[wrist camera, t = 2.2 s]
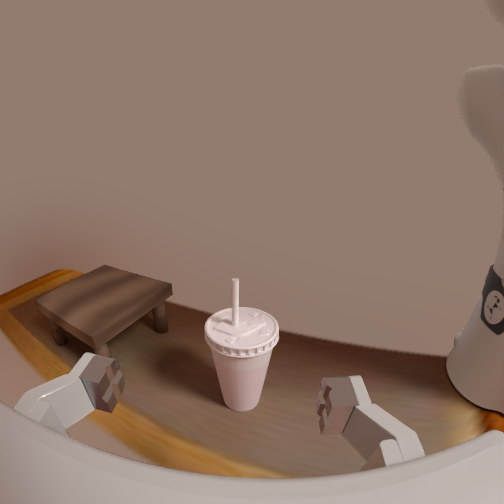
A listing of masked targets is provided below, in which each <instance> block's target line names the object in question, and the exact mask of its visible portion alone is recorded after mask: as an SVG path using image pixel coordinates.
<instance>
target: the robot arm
mask: <svg viewBox="0 0 504 504" xmlns="http://www.w3.org/2000/svg"><path fill="white" fill-rule="evenodd" d="M484 3H485V5H486V7H487V9H488V11H489V12H490V14H491V15H492V16H493V17H494V18H495V20H496V21H497V22H499V23H500V24H501V25H502V26H503V27H504V0H484ZM457 101H458V107H459V112H460V115H461V118H462V120H463V122H464V124H465V126H466V128H467V130H468V131H469V133H470V134H471V135H472V137H473V138H474V139H475V140H476V141H477V142H478V143H479V144H480V145H481V146H482V148H483V149H484V150H485V151H486V153H487V155H488V156H489V158H490V159H491V161H492V163H493V165H494V167H495V170H496V172H497V175H498V177H499V181H500V185H501V190H502V198H503V216H502V226H501V233H500V239H499V244H498V250H497V254H496V258H495V262H494V264H493V265H492V266H491V267H490V269H489V272H488V274H487V276H486V279H485V285H484V288H483V291H482V295H483V296H482V297H480V298H479V299H478V300H477V302H476V304H475V307H474V309H473V311H472V313H471V315H470V317H469V319H468V321H467V323H466V325H465V327H464V329H463V331H462V333H458V334H457V335H456V337H455V339H454V348H453V350H452V351H451V352H450V354H449V355H448V358H447V362H446V367H447V372H448V375H449V377H450V380H451V381H452V383H453V385H454V386H455V387H456V389H457V390H458V391H459V392H460V393H461V394H462V395H463V396H464V397H465V398H467V399H468V400H469V401H471V402H473V403H474V404H476V405H478V406H480V407H483V408H486V409H490V410H495V411H499V412H501V413H503V414H504V65H498V64H496V65H486V66H479V67H473V68H468V69H466V71H465V72H464V74H463V75H462V77H461V79H460V82H459V85H458V91H457ZM119 368H120V364H119V361H118V360H116V359H113V358H109V357H105V356H101V355H96V354H92V353H89V352H87V353H84V355H83V356H82V357H81V358H80V360H79V361H78V362H77V364H76V365H75V366H74V368H73V369H72V370H71V372H70V373H69V374H68V375H67V374H64V375H62V376H60V377H58V378H55V379H53V380H51V381H49V382H46V383H44V384H42V385H40V386H37V387H35V388H33V389H30V390H28V391H26V392H25V393H24V395H23V396H22V397H21V398H20V400H19V401H18V402H17V404H16V405H15V406H14V408H13V409H12V408H11V407H9V406H7V405H6V404H4V403H3V402H1V401H0V504H504V433H503V432H500V431H498V430H491V431H488V432H486V433H484V434H482V435H479V436H477V437H475V438H473V439H470V440H468V441H466V442H463V443H461V444H458V445H456V446H453V447H450V448H448V449H445V450H442V451H439V452H436V453H433V454H430V455H427V456H425V453H424V451H423V448H422V446H421V443H420V441H419V438H418V436H417V434H416V432H414V431H413V430H411V429H410V428H408V427H407V426H406V425H404V424H403V423H401V422H400V421H398V420H397V419H396V418H394V417H393V416H391V415H390V414H389V413H387V412H386V411H384V410H383V409H382V408H380V407H379V406H378V405H376V404H372V403H371V400H370V398H369V395H368V392H367V390H366V387H365V384H364V382H363V379H362V377H361V376H360V375H358V376H348V377H347V376H345V377H326V378H323V379H322V382H321V389H322V390H320V391H319V392H318V396H317V404H316V405H317V414H318V415H319V416H321V418H320V421H319V426H320V431H321V435H334V434H342V436H343V437H344V438H345V439H346V440H347V441H348V442H349V443H350V444H351V445H352V446H353V447H354V448H355V449H356V450H357V451H358V452H359V453H360V455H361V456H362V457H363V458H364V459H365V460H366V461H367V462H366V464H365V465H364V466H363V468H362V469H361V470H360V471H359V472H354V473H347V474H339V475H331V476H321V477H307V478H280V479H268V478H241V477H228V476H217V475H209V474H201V473H194V472H188V471H182V470H176V469H171V468H166V467H161V466H157V465H152V464H148V463H144V462H140V461H136V460H133V459H129V458H126V457H122V456H119V455H115V454H112V453H109V452H106V451H103V450H100V449H98V448H94V447H92V446H89V445H87V444H84V443H81V442H79V441H76V440H74V439H72V438H71V436H70V435H69V434H68V432H67V431H66V429H67V428H69V427H70V426H72V425H73V424H74V423H76V422H78V421H79V420H80V419H82V418H83V417H85V416H86V415H88V414H89V413H90V412H92V411H93V410H95V409H98V410H102V411H106V412H110V413H112V412H113V410H114V408H115V406H116V404H117V399H116V397H118V396H120V395H121V394H122V392H123V390H124V384H125V383H124V376H123V374H122V373H121V372H120V371H119ZM94 408H95V409H94Z"/></svg>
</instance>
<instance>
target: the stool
mask: <svg viewBox="0 0 504 504" xmlns="http://www.w3.org/2000/svg"><path fill="white" fill-rule="evenodd" d="M171 295H172V284H171V283H167V282H163V281H159V280H155V279H152V278H148V277H145V276H141V275H138V274H134V273H131V272H127V271H124V270H120V269H117V268H113V267H110V266H107V265H103V266H101V267H99V268H97V269H95V270H93V271H91V272H89V273H87V274H85V275H83V276H81V277H79V278H77V279H75V280H73V281H71V282H69V283H67V284H65V285H63V286H61V287H59V288H57V289H55V290H53V291H51V292H49V293H47V294H45V295H43V296H41V297H40V298H38V299H36V300H35V302H36V305H37V308H38V311H40V312H41V313H42V314H44V315H45V316H46V317H47V318H48V321H49V324H50V327H51V329H52V332H53V335H54V338H55V340H56V343H57V344H58V345H64V344H65V343H66V342H67V338H66V335H65V332H64V330H63V329H65V330H66V331H68V332H69V333H71V334H72V335H74V336H75V337H77V338H78V339H80V340H81V341H83V342H84V343H86V344H88V345H89V346H91V347H93V350H94V353H95V354H96V355H101V356H105V357H109V358H112V357H111V354H110V351H109V348H108V345H107V342H108V341H109V340H111V339H112V338H113V337H115V336H116V335H117V334H119V333H120V332H122V331H123V330H124V329H126V328H127V327H128V326H130V325H131V324H133V323H134V322H135V321H137V320H138V319H139V318H141V317H142V316H144V315H145V314H146V313H148V312H149V311H150V310H152V309H153V315H154V321H155V327H156V331H157V332H158V333H166V332H167V331H168V323H167V316H166V309H165V302H164V300H166V299H167V298H168V297H170V296H171Z"/></svg>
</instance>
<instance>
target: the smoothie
mask: <svg viewBox="0 0 504 504" xmlns="http://www.w3.org/2000/svg"><path fill="white" fill-rule="evenodd" d="M205 340H206V342H207V344H208V345H209V346H210V347H211V352H212V356H213V360H214V364H215V368H216V372H217V376H218V380H219V384H220V388H221V391H222V395H223V399H224V402H225V404H226V405H227V406H228V407H229V408H230V409H232V410H235V411H248V410H251V409H253V408H254V407H255V406H256V405H257V404H258V402H259V399H260V395H261V391H262V387H263V384H264V380H265V376H266V372H267V368H268V365H269V361H270V357H271V353H272V349H273V347H274V346H275V345H276V344H277V342H278V340H279V325H278V322H277V321H276V319H275V318H274V317H273V316H271V315H270V314H268V313H267V312H265V311H262V310H259V309H256V308H250V307H239V279H238V278H233V279H232V308H226V309H223V310H220V311H218V312H216V313H214V314H213V315H211V316H210V317H209V318H208V319H207V321H206V323H205Z"/></svg>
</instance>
